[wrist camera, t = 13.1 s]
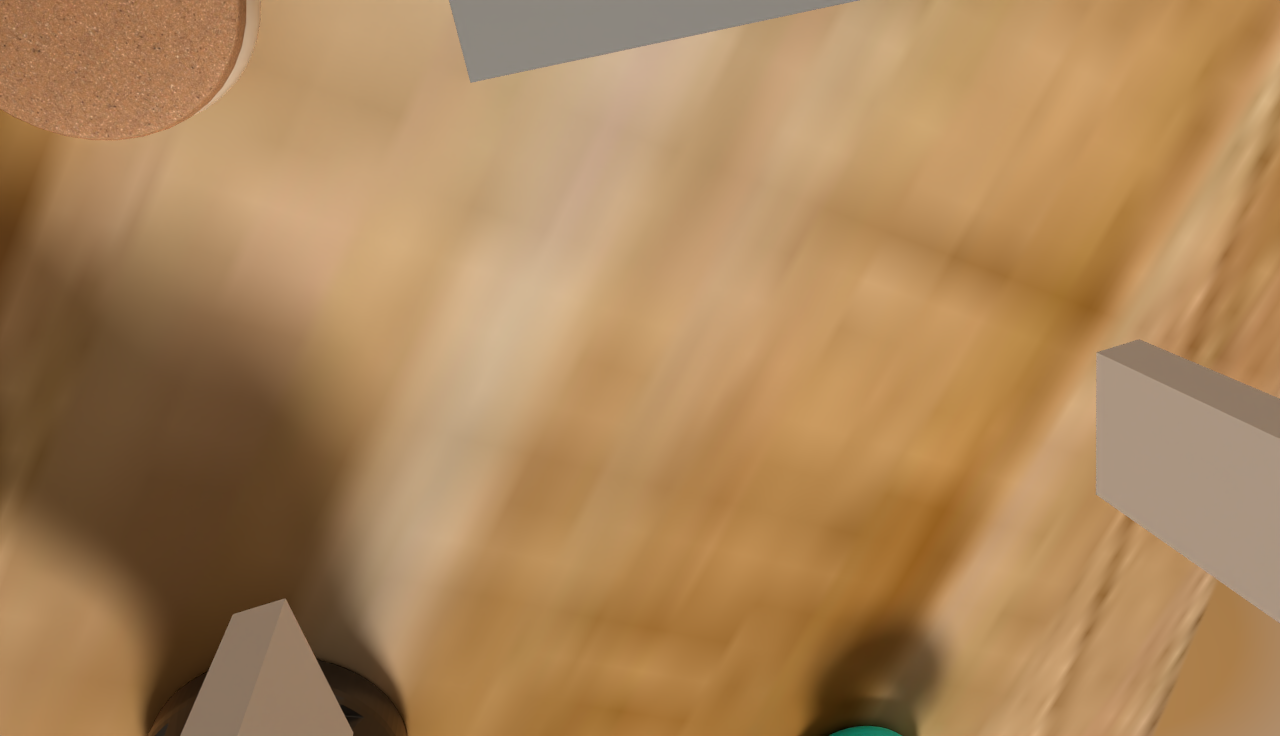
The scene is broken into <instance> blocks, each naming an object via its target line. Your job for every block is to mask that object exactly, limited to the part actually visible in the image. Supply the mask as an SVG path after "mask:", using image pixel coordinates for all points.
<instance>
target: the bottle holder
mask: <svg viewBox="0 0 1280 736" xmlns="http://www.w3.org/2000/svg"><path fill="white" fill-rule="evenodd" d="M853 1H858V0H449V2H450V6H451V10H452V14H453V17H454V21H455V25H456V29H457V33H458V36H459V40H460V44H461V48H462V52H463V56H464V59H465V63H466V67H467V71H468V75H469V79H470V82H476V81H481V80H485V79H490V78H495V77H500V76H504V75H509V74H514V73H518V72H523V71H528V70H533V69H537V68H542V67H547V66H551V65H556V64H561V63H566V62H570V61H575V60H580V59H584V58H589V57H594V56H599V55H603V54H608V53H613V52H617V51H622V50H627V49H632V48H636V47H641V46H646V45H650V44H655V43H660V42H665V41H669V40H674V39H679V38H683V37H688V36H693V35H698V34H702V33H707V32H712V31H716V30H721V29H726V28H731V27H735V26H740V25H745V24H749V23H754V22H759V21H764V20H768V19H773V18H778V17H782V16H787V15H792V14H797V13H801V12H806V11H811V10H815V9H820V8H825V7H830V6H834V5H839V4H844V3H848V2H853Z"/></svg>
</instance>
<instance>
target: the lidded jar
mask: <svg viewBox="0 0 1280 736" xmlns="http://www.w3.org/2000/svg"><path fill="white" fill-rule="evenodd" d="M260 20H261V0H0V109H2V110H3V111H5V112H7V113H8V114H10V115H12V116H14V117H16V118H18V119H20V120H23V121H25V122H27V123H29V124H32V125H34V126H36V127H38V128H41V129H45V130H48V131H51V132H55V133H58V134H62V135H65V136H71V137H77V138H83V139H89V140H122V139H129V138H137V137H143V136H146V135H150V134H153V133H156V132H159V131H162V130H166V129H169V128H171V127H173V126H175V125H177V124H179V123H181V122H183V121H184V120H186V119H188V118H190V117H192V116H194V115H196V114H198V113H200V112H202V111H204V110H205V109H207V108H208V107H209V106H211V105H212V104H213V103H215V102H216V101H217V100H218V99H220V98H221V97H222V96H223V95H225V94H226V93H227V92H228V91H229V89H230V88H231V87H232V86H233V85H234V84H235V83H236V82H237V80H238V79H239V78H240V76H241V75H242V73H243V71H244V70H245V68H246V66H247V65H248V63H249V61H250V58H251V56H252V53H253V50H254V47H255V45H256V42H257V37H258V32H259V27H260Z"/></svg>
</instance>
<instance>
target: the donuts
mask: <svg viewBox="0 0 1280 736" xmlns="http://www.w3.org/2000/svg"><path fill="white" fill-rule="evenodd" d="M829 736H902V735H900V734H898V733H896V732H894V731H892V730H890V729H887V728H883V727H877V726H857V727H851V728H847V729H844V730H841V731H838V732H835V733H833V734H831V735H829Z"/></svg>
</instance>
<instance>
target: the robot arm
mask: <svg viewBox="0 0 1280 736" xmlns="http://www.w3.org/2000/svg"><path fill="white" fill-rule="evenodd" d="M1096 495H1098V496H1099V497H1100V498H1102V499H1103V500H1105V501H1106V502H1108V503H1109V504H1110V505H1112V506H1113V507H1115V508H1116V509H1118V510H1119V511H1120V512H1122V513H1123V514H1125V515H1126V516H1128V517H1129V518H1130V519H1132V520H1133V521H1135V522H1136V523H1138V524H1139V525H1140V526H1142V527H1143V528H1145V529H1146V530H1148V531H1149V532H1150V533H1152V534H1153V535H1155V536H1156V537H1158V538H1159V539H1160V540H1162V541H1163V542H1165V543H1166V544H1167V545H1169V546H1170V547H1172V548H1173V549H1175V550H1176V551H1177V552H1179V553H1180V554H1182V555H1183V556H1185V557H1186V558H1187V559H1189V560H1190V561H1192V562H1193V563H1195V564H1196V565H1197V566H1199V567H1200V568H1202V569H1203V570H1205V571H1206V572H1207V573H1209V574H1210V575H1212V576H1213V577H1215V578H1216V579H1217V580H1219V581H1220V582H1222V583H1223V584H1225V585H1226V586H1227V587H1229V588H1230V589H1232V590H1233V591H1235V592H1236V593H1238V594H1239V595H1240V596H1242V597H1243V598H1245V599H1246V600H1247V601H1249V602H1250V603H1252V604H1253V605H1255V606H1256V607H1257V608H1259V609H1260V610H1262V611H1263V612H1265V613H1266V614H1267V615H1269V616H1270V617H1272V618H1273V619H1274V620H1276V621H1278V622H1279V623H1280V399H1279V398H1277V397H1274V396H1272V395H1270V394H1267V393H1265V392H1262V391H1260V390H1258V389H1255V388H1253V387H1251V386H1248V385H1246V384H1244V383H1241V382H1239V381H1236V380H1234V379H1232V378H1229V377H1227V376H1225V375H1222V374H1220V373H1217V372H1215V371H1213V370H1210V369H1208V368H1206V367H1203V366H1201V365H1199V364H1196V363H1194V362H1191V361H1189V360H1187V359H1184V358H1182V357H1180V356H1177V355H1175V354H1173V353H1170V352H1168V351H1165V350H1163V349H1161V348H1158V347H1156V346H1154V345H1151V344H1149V343H1147V342H1144V341H1142V340H1136V341H1133V342H1129V343H1126V344H1123V345H1119V346H1116V347H1113V348H1109V349H1106V350H1103V351H1100V352H1097V386H1096ZM148 736H407V734H406V729H405V726H404V723H403V720H402V718H401V716H400V714H399V712H398V711H397V709H396V707H395V706H394V705H393V703H392V702H391V701H390V700H389V698H388V697H387V696H386V695H385V694H384V693H383V692H382V691H381V690H380V689H378V688H377V687H376V686H375V685H373V684H372V683H371V682H369V681H368V680H366V679H365V678H363V677H361V676H360V675H358V674H356V673H354V672H352V671H350V670H347V669H345V668H342V667H340V666H337V665H334V664H331V663H327V662H324V661H319V660H316V658H315V656H314V654H313V652H312V650H311V648H310V646H309V644H308V642H307V640H306V638H305V636H304V634H303V632H302V630H301V628H300V626H299V624H298V622H297V620H296V618H295V616H294V614H293V612H292V610H291V608H290V606H289V604H288V602H287V600H286V598H285V599H281V600H278V601H275V602H271V603H268V604H265V605H262V606H258V607H255V608H252V609H248V610H245V611H242V612H238V613H235V614H233V615H232V618H231V620H230V622H229V624H228V627H227V629H226V631H225V634H224V636H223V638H222V641H221V643H220V645H219V648H218V650H217V652H216V654H215V657H214V659H213V661H212V664H211V666H210V668H209V671H208V672H207V673H205V674H203V675H201V676H199V677H197V678H195V679H194V680H192V681H191V682H189V683H188V684H186V685H185V686H184V687H182V688H181V689H180V690H179V691H178V692H176V693H175V694H174V695H173V696H172V697H171V698H170V699H169V701H168V702H167V703H166V704H165V705H164V707H163V708H162V710H161V711H160V713H159V714H158V716H157V718H156V720H155V722H154V724H153V726H152V728H151V730H150V732H149V734H148Z"/></svg>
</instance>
